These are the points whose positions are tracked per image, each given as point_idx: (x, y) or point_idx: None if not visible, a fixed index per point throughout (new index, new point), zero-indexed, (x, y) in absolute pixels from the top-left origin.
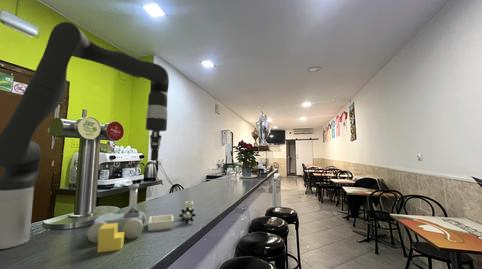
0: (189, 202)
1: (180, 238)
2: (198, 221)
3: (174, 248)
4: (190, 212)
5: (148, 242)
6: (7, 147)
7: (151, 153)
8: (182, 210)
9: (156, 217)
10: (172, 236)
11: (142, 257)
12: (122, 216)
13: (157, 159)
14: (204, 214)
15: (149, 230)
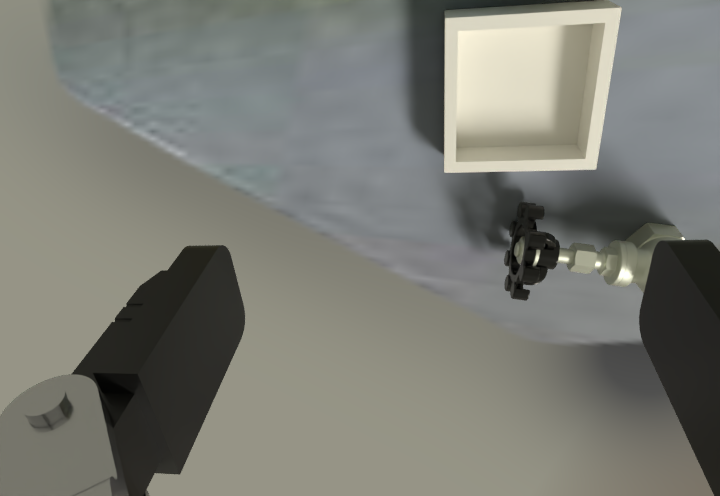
0: None
1: (291, 183)
2: None
3: (184, 157)
4: (515, 275)
5: (266, 37)
6: None
7: (132, 326)
8: (527, 240)
9: (598, 56)
10: (324, 149)
11: (105, 33)
12: None
13: (640, 330)
14: None
15: (444, 19)
